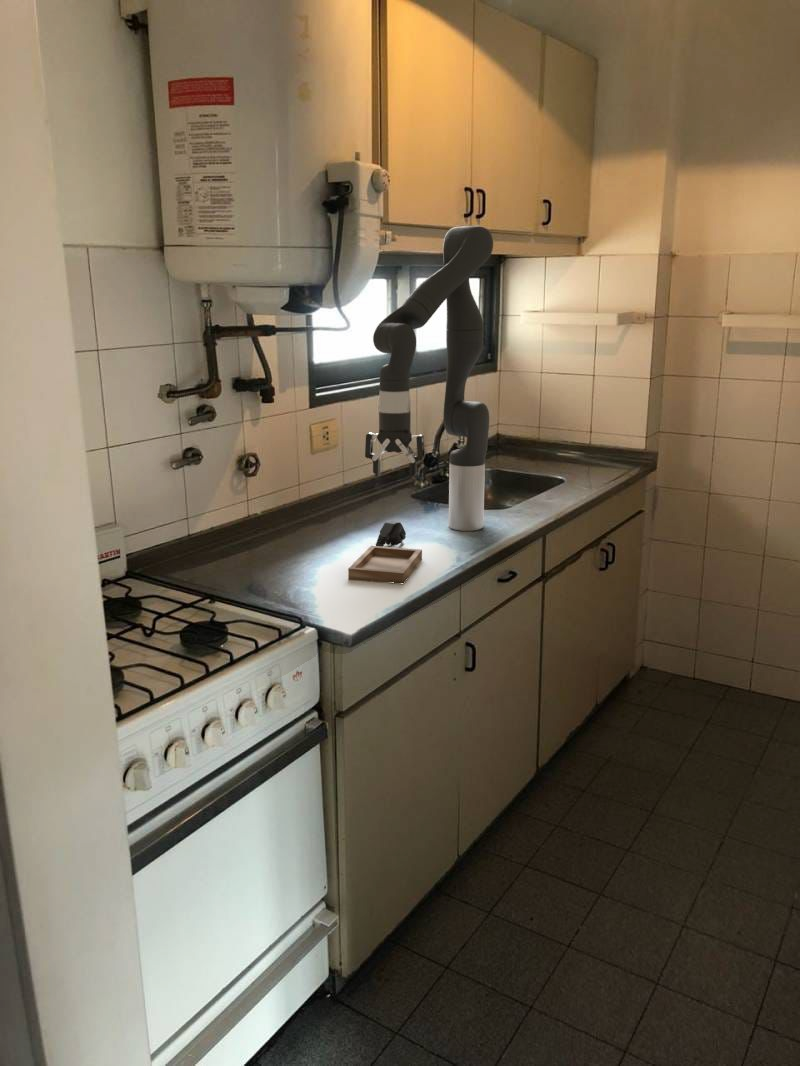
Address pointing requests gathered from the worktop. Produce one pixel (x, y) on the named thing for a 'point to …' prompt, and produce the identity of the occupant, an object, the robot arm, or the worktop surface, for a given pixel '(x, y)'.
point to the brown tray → (385, 564)
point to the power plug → (391, 534)
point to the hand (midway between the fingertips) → (394, 476)
